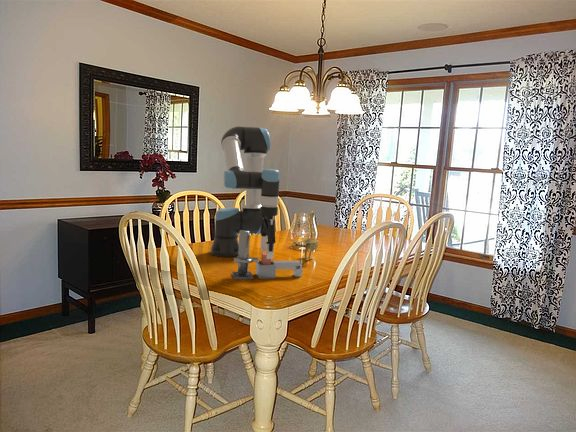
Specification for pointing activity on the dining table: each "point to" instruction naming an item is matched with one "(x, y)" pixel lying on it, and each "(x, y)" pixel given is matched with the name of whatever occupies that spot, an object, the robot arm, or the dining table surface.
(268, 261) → the wedge pin
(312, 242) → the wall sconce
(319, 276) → the dining table surface
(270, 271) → the bracket
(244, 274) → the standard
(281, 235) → the dining table surface
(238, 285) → the dining table surface
